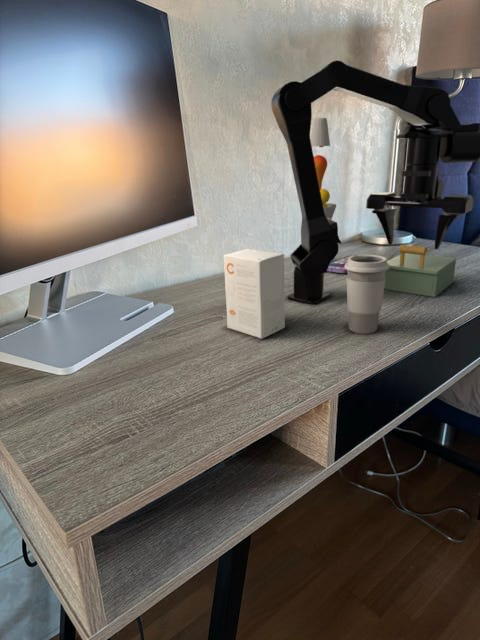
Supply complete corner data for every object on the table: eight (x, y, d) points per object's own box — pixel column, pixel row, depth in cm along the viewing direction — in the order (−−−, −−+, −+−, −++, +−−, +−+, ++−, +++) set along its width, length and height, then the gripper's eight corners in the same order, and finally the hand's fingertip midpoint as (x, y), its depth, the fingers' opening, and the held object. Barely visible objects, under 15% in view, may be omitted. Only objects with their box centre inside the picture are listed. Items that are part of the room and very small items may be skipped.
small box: (285, 328, 76) (285, 253, 72) (261, 339, 72) (259, 261, 67) (250, 317, 81) (248, 247, 77) (226, 328, 77) (222, 254, 73)
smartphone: (318, 270, 110) (348, 258, 121) (345, 274, 106) (374, 261, 116) (318, 266, 110) (348, 255, 120) (345, 270, 105) (374, 258, 115)
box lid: (436, 274, 86) (439, 250, 84) (380, 267, 93) (382, 244, 91) (456, 260, 95) (459, 239, 94) (403, 254, 102) (405, 234, 100)
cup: (364, 318, 79) (369, 251, 75) (393, 330, 74) (399, 259, 69) (333, 326, 76) (335, 257, 72) (360, 339, 71) (364, 266, 66)
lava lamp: (292, 262, 119) (293, 119, 106) (318, 257, 123) (321, 119, 110) (315, 269, 111) (319, 116, 99) (341, 263, 116) (348, 116, 103)
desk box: (434, 297, 88) (437, 274, 87) (379, 288, 95) (381, 266, 93) (453, 282, 97) (456, 261, 95) (401, 274, 104) (403, 255, 102)
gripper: (486, 161, 84) (473, 243, 89) (390, 162, 95) (384, 235, 101) (471, 164, 76) (458, 254, 81) (367, 165, 87) (362, 244, 93)
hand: (412, 246), depth 89 cm, fingers open, 9 cm apart
